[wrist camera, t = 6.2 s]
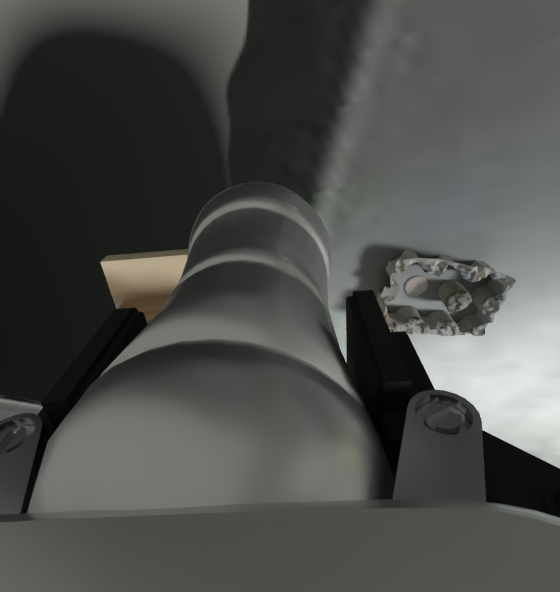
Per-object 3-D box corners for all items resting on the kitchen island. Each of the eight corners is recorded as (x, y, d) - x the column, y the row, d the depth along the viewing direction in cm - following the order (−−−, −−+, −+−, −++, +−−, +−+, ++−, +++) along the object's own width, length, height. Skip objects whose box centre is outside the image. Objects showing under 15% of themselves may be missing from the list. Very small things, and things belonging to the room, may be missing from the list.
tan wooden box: (107, 255, 35) (72, 286, 29) (255, 243, 34) (249, 272, 29) (159, 412, 45) (140, 459, 39) (276, 405, 44) (275, 452, 38)
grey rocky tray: (367, 308, 38) (376, 331, 34) (393, 239, 34) (405, 256, 31) (467, 327, 39) (485, 351, 35) (501, 262, 35) (526, 281, 32)
